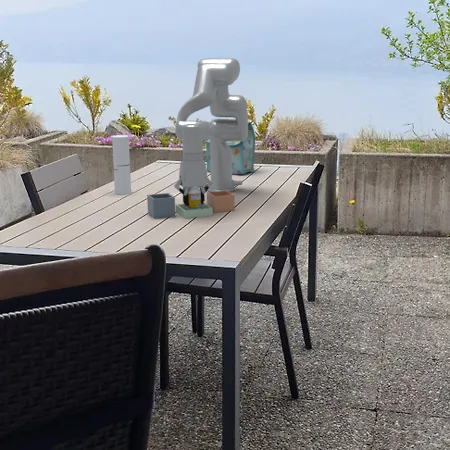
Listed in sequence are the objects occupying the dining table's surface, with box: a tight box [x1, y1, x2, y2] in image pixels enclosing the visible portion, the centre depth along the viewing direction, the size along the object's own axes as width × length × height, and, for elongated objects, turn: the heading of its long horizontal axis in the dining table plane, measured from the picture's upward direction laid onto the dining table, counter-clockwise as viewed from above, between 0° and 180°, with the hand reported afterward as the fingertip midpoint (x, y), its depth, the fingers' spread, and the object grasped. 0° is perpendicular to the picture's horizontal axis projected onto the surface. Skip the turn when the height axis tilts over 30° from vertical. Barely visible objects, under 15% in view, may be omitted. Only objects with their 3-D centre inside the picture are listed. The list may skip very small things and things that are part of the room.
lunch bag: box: [205, 117, 256, 175], centre depth 342 cm, size 23×16×27 cm
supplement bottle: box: [187, 186, 201, 210], centre depth 257 cm, size 5×5×10 cm
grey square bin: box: [146, 192, 176, 219], centre depth 256 cm, size 8×8×8 cm
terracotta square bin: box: [206, 191, 235, 213], centre depth 264 cm, size 8×8×7 cm
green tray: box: [175, 202, 214, 219], centre depth 258 cm, size 11×11×4 cm
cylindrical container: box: [111, 134, 132, 195], centre depth 296 cm, size 7×7×25 cm
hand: (193, 203), depth 258 cm, fingers closed on supplement bottle, 5 cm apart
